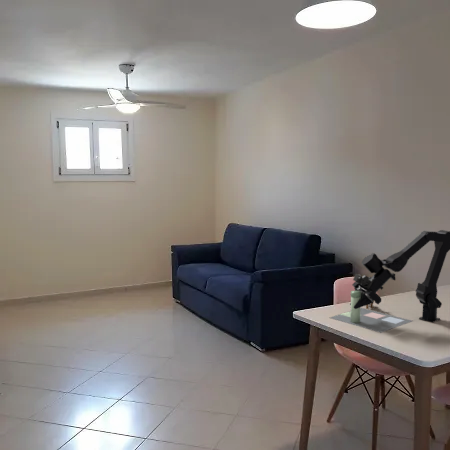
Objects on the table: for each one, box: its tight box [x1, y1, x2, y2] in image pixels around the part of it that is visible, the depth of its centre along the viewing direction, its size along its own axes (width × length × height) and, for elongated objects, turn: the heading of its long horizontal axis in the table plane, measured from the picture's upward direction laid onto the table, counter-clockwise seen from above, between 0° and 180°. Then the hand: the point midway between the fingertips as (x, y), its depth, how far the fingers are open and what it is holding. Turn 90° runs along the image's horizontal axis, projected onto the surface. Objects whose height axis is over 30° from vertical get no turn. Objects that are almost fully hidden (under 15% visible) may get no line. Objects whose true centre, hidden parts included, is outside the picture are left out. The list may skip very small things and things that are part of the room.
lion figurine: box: [365, 300, 375, 310], centre depth 226 cm, size 15×5×9 cm, turn 9°
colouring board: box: [328, 307, 413, 334], centre depth 204 cm, size 24×26×1 cm
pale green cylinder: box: [350, 290, 362, 323], centre depth 200 cm, size 4×4×13 cm
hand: (352, 306), depth 200 cm, fingers closed on pale green cylinder, 4 cm apart
